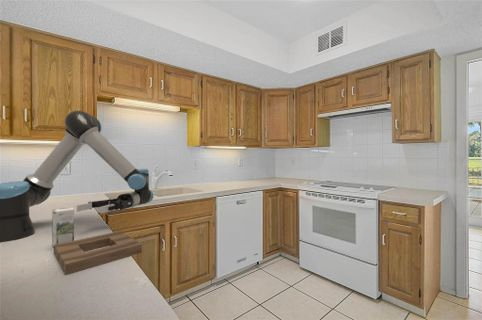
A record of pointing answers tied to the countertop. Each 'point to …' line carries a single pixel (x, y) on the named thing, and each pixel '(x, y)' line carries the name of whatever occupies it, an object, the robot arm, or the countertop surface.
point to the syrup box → (62, 225)
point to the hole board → (95, 251)
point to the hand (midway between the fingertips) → (88, 209)
